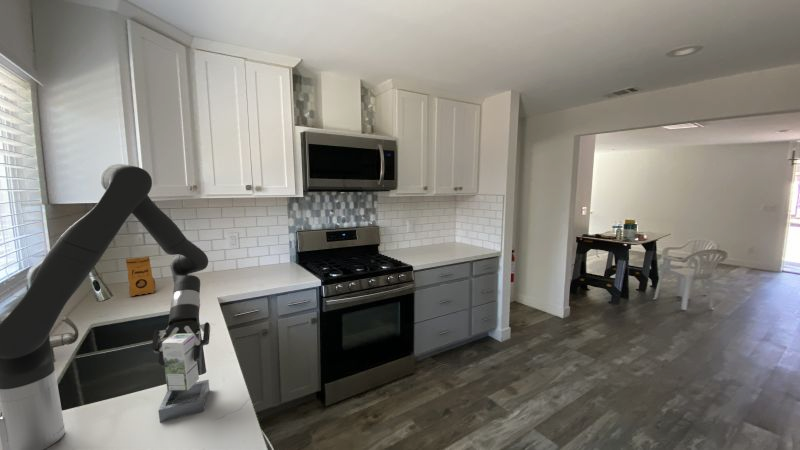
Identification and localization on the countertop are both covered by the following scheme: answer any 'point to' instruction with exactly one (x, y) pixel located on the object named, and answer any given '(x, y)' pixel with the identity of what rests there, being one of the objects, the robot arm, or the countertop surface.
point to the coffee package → (140, 276)
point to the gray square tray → (187, 407)
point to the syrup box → (180, 362)
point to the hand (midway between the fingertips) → (179, 363)
